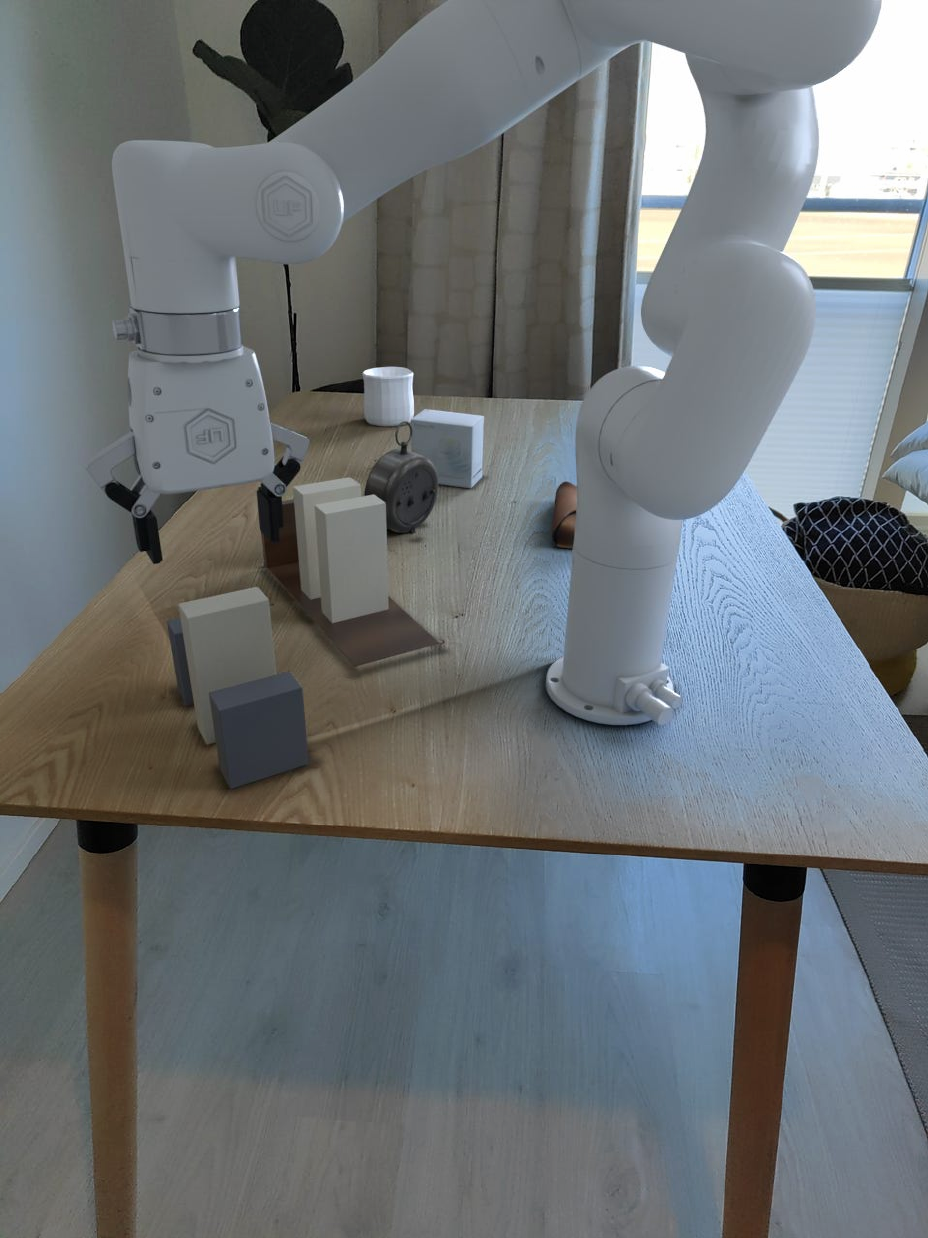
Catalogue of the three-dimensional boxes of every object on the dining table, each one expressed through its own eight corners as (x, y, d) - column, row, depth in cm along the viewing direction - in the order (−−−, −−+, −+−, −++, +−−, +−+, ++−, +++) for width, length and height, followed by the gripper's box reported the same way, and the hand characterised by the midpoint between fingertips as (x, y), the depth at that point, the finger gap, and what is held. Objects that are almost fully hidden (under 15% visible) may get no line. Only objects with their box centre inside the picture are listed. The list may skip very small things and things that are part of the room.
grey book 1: (257, 687, 85) (249, 616, 81) (186, 706, 82) (174, 634, 78) (247, 673, 87) (239, 604, 84) (178, 691, 84) (166, 620, 80)
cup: (423, 419, 173) (422, 369, 168) (393, 430, 165) (392, 379, 161) (385, 411, 177) (383, 363, 173) (354, 422, 170) (352, 372, 165)
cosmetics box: (410, 481, 140) (409, 417, 135) (424, 469, 145) (424, 407, 140) (471, 489, 137) (472, 425, 132) (483, 477, 142) (485, 414, 137)
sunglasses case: (614, 548, 116) (593, 507, 113) (567, 569, 118) (545, 529, 116) (609, 502, 132) (590, 464, 129) (568, 521, 134) (549, 485, 132)
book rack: (440, 650, 92) (440, 575, 88) (355, 674, 88) (351, 596, 83) (337, 556, 113) (334, 491, 109) (264, 571, 109) (257, 505, 104)
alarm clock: (416, 520, 125) (416, 409, 117) (444, 529, 122) (445, 417, 114) (363, 542, 117) (358, 425, 110) (391, 553, 114) (389, 434, 107)
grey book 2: (309, 764, 75) (302, 687, 71) (230, 789, 71) (218, 710, 68) (296, 746, 77) (289, 670, 73) (219, 770, 74) (208, 692, 70)
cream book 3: (388, 609, 98) (385, 502, 92) (332, 623, 95) (325, 514, 89) (377, 599, 100) (374, 494, 94) (321, 612, 97) (314, 504, 91)
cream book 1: (281, 723, 80) (269, 599, 74) (206, 745, 77) (187, 618, 71) (270, 707, 82) (257, 586, 76) (197, 728, 79) (177, 603, 73)
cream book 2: (365, 587, 103) (360, 484, 97) (310, 600, 100) (302, 494, 94) (354, 577, 105) (350, 476, 99) (301, 589, 102) (292, 486, 96)
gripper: (71, 350, 56) (113, 585, 64) (319, 334, 64) (328, 545, 72) (54, 330, 62) (95, 549, 70) (284, 318, 70) (296, 515, 78)
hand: (213, 546), depth 71 cm, fingers open, 9 cm apart
